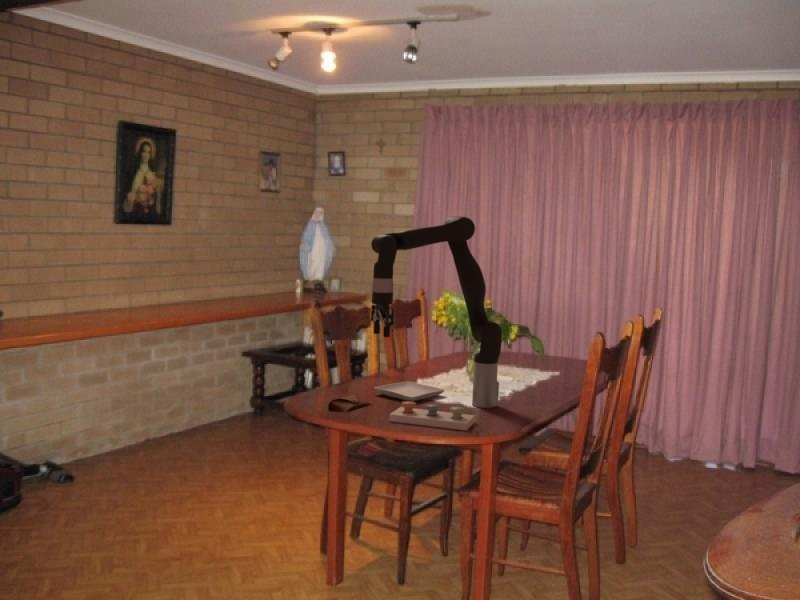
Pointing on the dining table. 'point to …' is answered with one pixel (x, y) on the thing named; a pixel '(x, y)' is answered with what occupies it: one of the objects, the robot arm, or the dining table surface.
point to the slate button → (432, 409)
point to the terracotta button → (408, 406)
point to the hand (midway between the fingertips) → (381, 335)
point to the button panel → (432, 419)
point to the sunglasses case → (348, 403)
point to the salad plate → (409, 391)
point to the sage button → (457, 412)
